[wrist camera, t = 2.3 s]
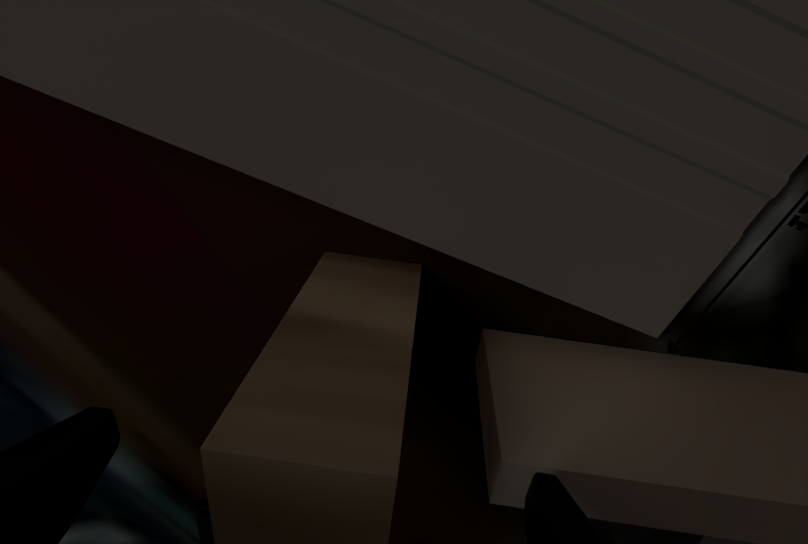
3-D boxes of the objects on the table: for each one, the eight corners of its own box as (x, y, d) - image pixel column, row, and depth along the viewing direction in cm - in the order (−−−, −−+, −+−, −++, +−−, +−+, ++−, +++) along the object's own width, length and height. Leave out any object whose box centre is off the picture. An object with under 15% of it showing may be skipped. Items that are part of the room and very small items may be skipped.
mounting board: (870, 418, 15) (1078, 591, 10) (474, 363, 15) (489, 503, 10) (896, 385, 14) (1133, 554, 9) (482, 328, 15) (502, 460, 10)
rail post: (410, 344, 15) (381, 590, 8) (323, 332, 15) (218, 564, 8) (422, 264, 14) (397, 478, 7) (325, 251, 14) (200, 448, 7)
